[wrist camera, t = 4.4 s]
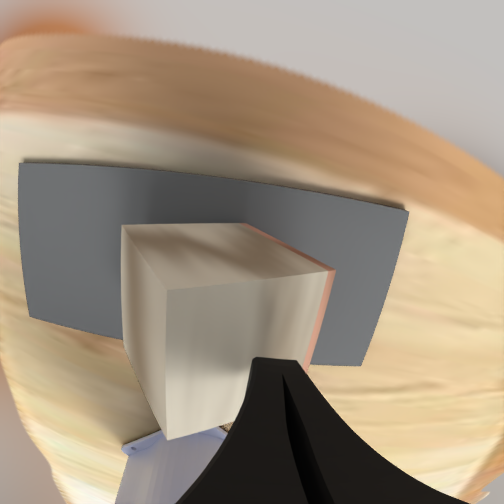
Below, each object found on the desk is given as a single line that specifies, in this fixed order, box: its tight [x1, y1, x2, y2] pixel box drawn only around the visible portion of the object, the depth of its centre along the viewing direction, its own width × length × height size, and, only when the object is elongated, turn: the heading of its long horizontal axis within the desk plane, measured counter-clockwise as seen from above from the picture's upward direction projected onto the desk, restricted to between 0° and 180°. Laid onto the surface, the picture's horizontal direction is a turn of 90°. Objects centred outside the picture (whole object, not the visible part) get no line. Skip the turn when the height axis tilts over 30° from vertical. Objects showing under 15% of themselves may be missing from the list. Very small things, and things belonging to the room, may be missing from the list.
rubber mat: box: [18, 163, 409, 366], centre depth 16 cm, size 22×10×1 cm, turn 82°
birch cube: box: [121, 223, 336, 441], centre depth 12 cm, size 6×6×6 cm
